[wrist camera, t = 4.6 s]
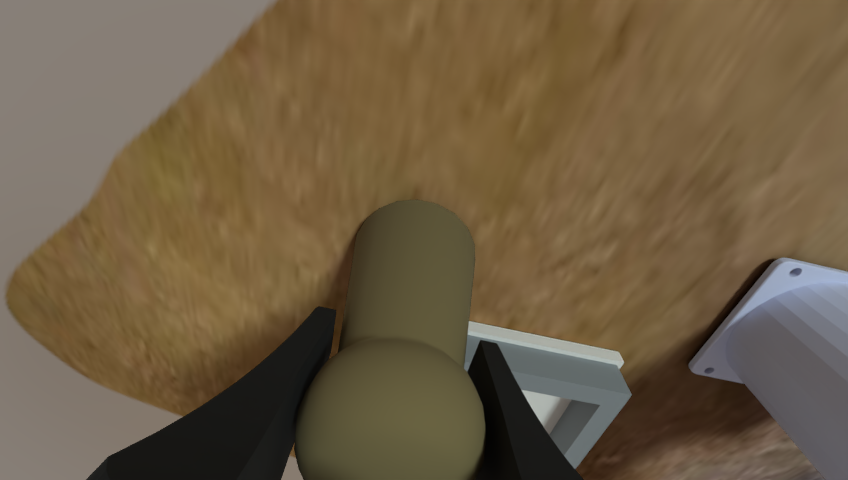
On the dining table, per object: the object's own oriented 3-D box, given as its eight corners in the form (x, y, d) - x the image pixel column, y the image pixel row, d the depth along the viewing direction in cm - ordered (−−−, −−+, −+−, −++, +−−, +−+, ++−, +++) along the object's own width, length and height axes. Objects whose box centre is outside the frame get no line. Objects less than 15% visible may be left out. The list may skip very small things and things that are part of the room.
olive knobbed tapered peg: (423, 321, 20) (405, 574, 11) (331, 261, 19) (214, 497, 9) (501, 250, 18) (567, 494, 8) (403, 173, 16) (347, 369, 7)
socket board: (618, 351, 22) (640, 392, 19) (542, 464, 28) (551, 506, 25) (348, 296, 21) (335, 331, 18) (329, 425, 27) (317, 464, 24)
